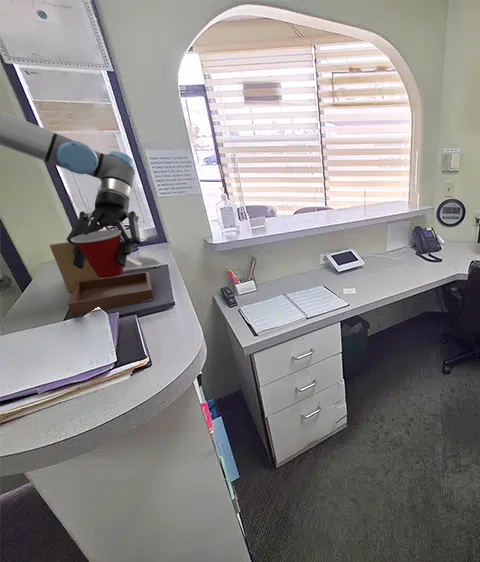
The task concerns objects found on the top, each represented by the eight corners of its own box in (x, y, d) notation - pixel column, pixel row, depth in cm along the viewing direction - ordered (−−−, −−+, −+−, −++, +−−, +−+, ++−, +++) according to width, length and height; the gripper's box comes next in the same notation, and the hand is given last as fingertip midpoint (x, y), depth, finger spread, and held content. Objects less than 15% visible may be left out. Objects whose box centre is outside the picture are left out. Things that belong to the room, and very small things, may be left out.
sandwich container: (101, 271, 108) (87, 228, 102) (104, 285, 97) (89, 239, 91) (67, 276, 102) (51, 232, 96) (67, 292, 92) (49, 244, 86)
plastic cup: (84, 273, 89) (69, 232, 84) (130, 265, 96) (118, 227, 91) (85, 285, 81) (69, 241, 77) (135, 275, 88) (123, 234, 84)
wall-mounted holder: (156, 255, 112) (85, 262, 104) (159, 267, 114) (90, 274, 105) (158, 251, 118) (91, 257, 109) (161, 262, 119) (95, 269, 110)
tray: (72, 315, 80) (67, 304, 78) (79, 292, 93) (76, 282, 91) (154, 299, 89) (151, 289, 88) (150, 280, 102) (148, 271, 101)
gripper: (160, 205, 98) (151, 269, 90) (78, 206, 93) (61, 273, 85) (149, 190, 92) (138, 257, 83) (60, 189, 87) (39, 261, 78)
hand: (99, 265), depth 84 cm, fingers closed on plastic cup, 9 cm apart
